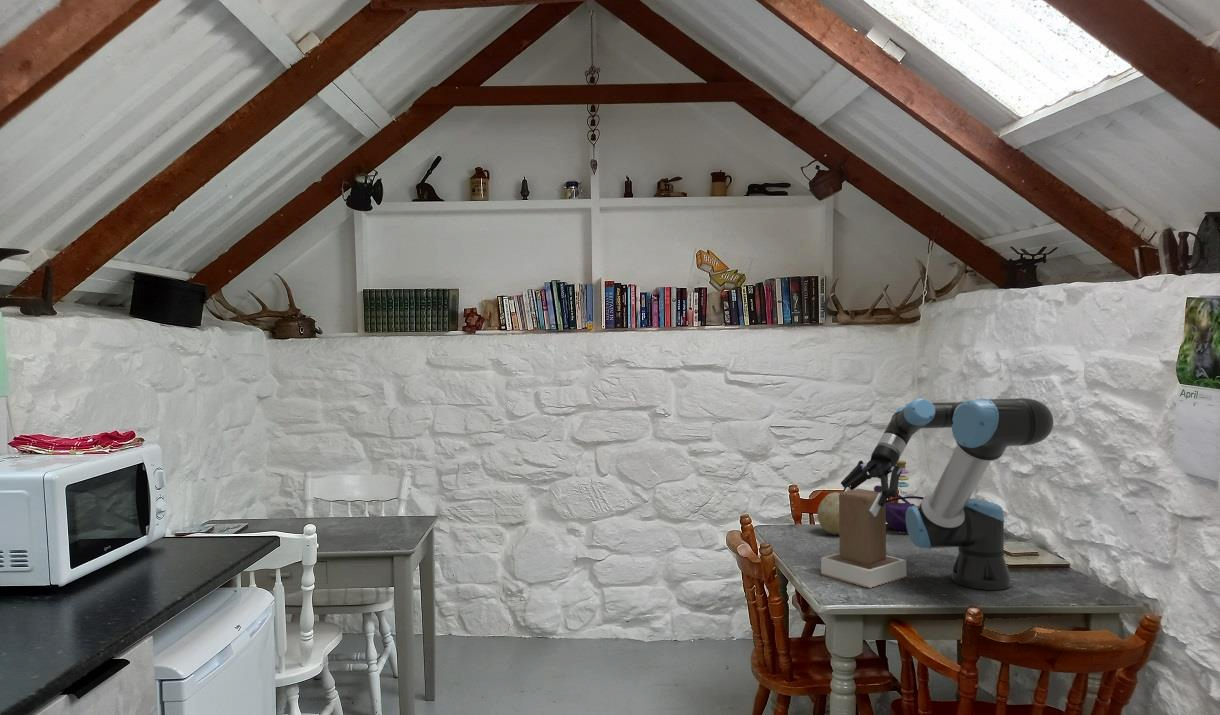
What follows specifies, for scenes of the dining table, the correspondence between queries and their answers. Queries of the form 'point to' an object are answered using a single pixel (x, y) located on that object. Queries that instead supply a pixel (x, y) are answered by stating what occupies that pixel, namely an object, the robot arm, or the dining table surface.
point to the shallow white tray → (863, 570)
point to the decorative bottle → (898, 510)
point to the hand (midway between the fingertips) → (856, 510)
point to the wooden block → (861, 527)
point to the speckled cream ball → (829, 513)
